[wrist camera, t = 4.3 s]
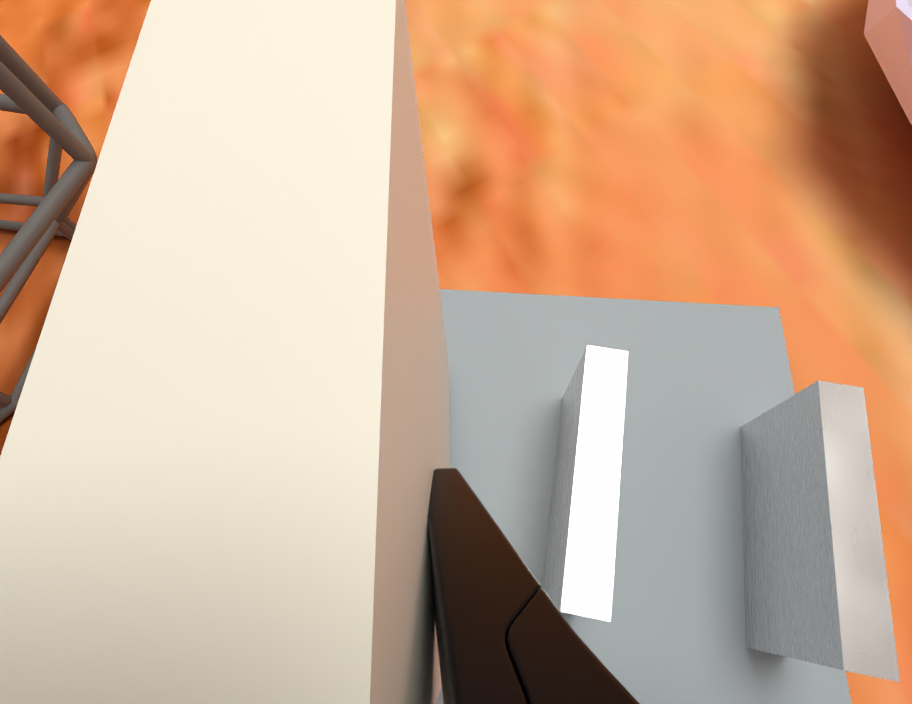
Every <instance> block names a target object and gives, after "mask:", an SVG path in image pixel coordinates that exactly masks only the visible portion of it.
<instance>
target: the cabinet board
mask: <svg viewBox="0 0 912 704" xmlns="http://www.w3.org/2000/svg"><path fill="white" fill-rule="evenodd" d="M440 296H441V304H442V312H443V320H444V329H445V337H446V345H447V354H448V362H449V409H450V464H451V468H456V469H458V470H459V472H460V473H461V474H462V476H463V477H464V479H465V480H466V481H467V483H468V484H469V486H470V487H471V488H472V490H473V491H474V493H475V494H476V495H477V497H478V498H479V500H480V501H481V503H482V504H483V505H484V507H485V508H486V510H487V511H488V512H489V514H490V515H491V517H492V518H493V519H494V521H495V522H496V524H497V525H498V526H499V528H500V529H501V531H502V532H503V533H504V535H505V536H506V538H507V539H508V540H509V542H510V543H511V545H512V546H513V547H514V549H515V550H516V552H517V553H518V554H519V556H520V557H521V559H522V560H523V561H524V563H525V564H526V566H527V567H528V568H529V570H530V571H531V573H532V574H533V575H534V577H535V578H536V580H537V581H538V582H539V584H540V585H541V582H542V573H543V564H544V555H545V547H546V538H547V529H548V520H549V512H550V503H551V494H552V485H553V477H554V468H555V459H556V450H557V442H558V433H559V424H560V415H561V407H562V398H563V395H564V393H565V391H566V389H567V387H568V385H569V383H570V381H571V378H572V376H573V374H574V372H575V370H576V368H577V366H578V363H579V361H580V359H581V357H582V355H583V353H584V351H585V348H586V346H587V345H590V346H596V347H603V348H609V349H616V350H622V351H628V364H627V380H626V395H625V410H624V426H623V441H622V457H621V472H620V488H619V503H618V518H617V534H616V549H615V565H614V580H613V596H612V611H611V622H608V621H603V620H598V619H594V618H589V617H584V616H579V615H574V614H570V613H565V612H560V613H561V614H562V615H563V617H564V618H565V619H566V620H567V622H568V623H569V624H570V626H571V627H572V628H573V630H574V631H575V632H576V633H577V635H578V636H579V637H580V638H581V639H582V641H583V642H584V643H585V644H586V645H587V646H588V647H589V648H590V650H591V651H592V652H593V653H594V654H595V655H596V656H597V658H598V659H599V660H600V661H601V662H602V663H603V664H604V665H605V667H606V668H607V669H608V670H609V671H610V672H611V673H612V674H613V675H614V676H615V677H616V678H617V679H618V681H619V682H620V683H621V684H622V685H623V686H624V687H625V688H626V689H627V690H628V691H629V692H630V694H631V695H632V696H633V697H634V698H635V699H636V700H637V701H638V702H639V703H640V704H852V703H851V698H850V692H849V687H848V682H847V676H846V671H844V670H840V669H835V668H831V667H827V666H823V665H818V664H814V663H810V662H806V661H801V660H797V659H793V658H789V657H784V656H780V655H776V654H772V653H767V652H763V651H759V650H755V649H750V648H746V633H745V594H744V554H743V515H742V475H741V435H740V427H741V426H743V425H744V424H746V423H748V422H749V421H751V420H753V419H754V418H756V417H758V416H760V415H761V414H763V413H765V412H766V411H768V410H770V409H771V408H773V407H775V406H776V405H778V404H780V403H781V402H783V401H785V400H787V399H788V398H790V397H792V396H793V395H795V393H794V388H793V382H792V377H791V371H790V366H789V360H788V355H787V350H786V344H785V339H784V333H783V328H782V322H781V317H780V311H779V308H778V307H759V306H741V305H722V304H704V303H685V302H667V301H649V300H630V299H612V298H593V297H575V296H556V295H538V294H519V293H501V292H482V291H464V290H446V289H440ZM436 704H443V695H442V687H441V690H440V693H439V696H438V699H437V702H436Z"/></svg>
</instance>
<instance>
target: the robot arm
mask: <svg viewBox="0 0 912 704" xmlns="http://www.w3.org/2000/svg"><path fill="white" fill-rule="evenodd" d="M428 530H429V544H430V558H431V572H432V586H433V600H434V613H435V626H436V636H437V646H438V655H439V665H440V675H441V685H442V695H443V704H640V703H639V702H638V701H637V700H636V699H635V698H634V697H633V696H632V695H631V694H630V692H629V691H628V690H627V689H626V688H625V687H624V686H623V685H622V684H621V683H620V682H619V681H618V679H617V678H616V677H615V676H614V675H613V674H612V673H611V672H610V671H609V670H608V669H607V668H606V667H605V665H604V664H603V663H602V662H601V661H600V660H599V659H598V658H597V656H596V655H595V654H594V653H593V652H592V651H591V650H590V648H589V647H588V646H587V645H586V644H585V643H584V642H583V641H582V639H581V638H580V637H579V636H578V635H577V633H576V632H575V631H574V630H573V628H572V627H571V626H570V624H569V623H568V622H567V620H566V619H565V618H564V617H563V615H562V614H561V613H560V611H559V610H558V609H557V607H556V606H555V605H554V603H553V602H552V600H551V599H550V598H549V596H548V595H547V593H546V592H545V591H544V590H543V589H542V587H541V585H540V584H539V582H538V581H537V580H536V578H535V577H534V575H533V574H532V573H531V571H530V570H529V568H528V567H527V566H526V564H525V563H524V561H523V560H522V559H521V557H520V556H519V554H518V553H517V552H516V550H515V549H514V547H513V546H512V545H511V543H510V542H509V540H508V539H507V538H506V536H505V535H504V533H503V532H502V531H501V529H500V528H499V526H498V525H497V524H496V522H495V521H494V519H493V518H492V517H491V515H490V514H489V512H488V511H487V510H486V508H485V507H484V505H483V504H482V503H481V501H480V500H479V498H478V497H477V495H476V494H475V493H474V491H473V490H472V488H471V487H470V486H469V484H468V483H467V481H466V480H465V479H464V477H463V476H462V474H461V473H460V472H459V470H458V469H456V468H438V469H435V470H434V471H433V479H432V486H431V493H430V500H429V507H428Z"/></svg>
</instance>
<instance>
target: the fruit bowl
mask: <svg viewBox="0 0 912 704" xmlns="http://www.w3.org/2000/svg"><path fill="white" fill-rule="evenodd" d="M864 36H865V38H866V40H867V41H868V43H869V45H870V47H871V49H872V51H873V53H874V55H875V57H876V59H877V61H878V62H879V64H880V66H881V68H882V70H883V72H884V74H885V76H886V78H887V80H888V82H889V84H890V85H891V87H892V89H893V91H894V93H895V95H896V97H897V99H898V101H899V103H900V105H901V106H902V108H903V110H904V112H905V114H906V116H907V118H908V120H909V122H910V124H911V126H912V0H868V7H867V14H866V21H865V28H864Z"/></svg>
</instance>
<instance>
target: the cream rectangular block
mask: <svg viewBox="0 0 912 704" xmlns="http://www.w3.org/2000/svg"><path fill="white" fill-rule="evenodd" d="M438 468H451V464H450V409H449V362H448V354H447V345H446V337H445V329H444V320H443V312H442V304H441V296H440V287H439V279H438V271H437V263H436V254H435V246H434V238H433V229H432V221H431V213H430V205H429V196H428V188H427V180H426V172H425V163H424V155H423V147H422V138H421V130H420V122H419V114H418V105H417V97H416V89H415V81H414V72H413V64H412V56H411V47H410V39H409V31H408V23H407V14H406V6H405V0H151V2H150V5H149V8H148V11H147V14H146V17H145V20H144V23H143V26H142V29H141V32H140V35H139V38H138V42H137V45H136V48H135V51H134V54H133V57H132V60H131V63H130V66H129V69H128V72H127V75H126V78H125V81H124V84H123V87H122V90H121V93H120V96H119V99H118V102H117V105H116V108H115V111H114V114H113V117H112V120H111V123H110V126H109V129H108V132H107V135H106V138H105V141H104V144H103V147H102V150H101V153H100V156H99V159H98V162H97V165H96V168H95V171H94V175H93V178H92V181H91V184H90V187H89V190H88V193H87V196H86V199H85V202H84V205H83V208H82V211H81V214H80V217H79V220H78V223H77V226H76V229H75V232H74V235H73V238H72V241H71V244H70V247H69V250H68V253H67V256H66V259H65V262H64V265H63V268H62V271H61V274H60V277H59V280H58V283H57V286H56V289H55V292H54V295H53V298H52V301H51V305H50V308H49V311H48V314H47V317H46V320H45V323H44V326H43V329H42V332H41V335H40V338H39V341H38V344H37V347H36V350H35V353H34V356H33V359H32V362H31V365H30V368H29V371H28V374H27V377H26V380H25V383H24V386H23V389H22V392H21V395H20V398H19V401H18V404H17V407H16V410H15V413H14V416H13V419H12V422H11V425H10V428H9V431H8V434H7V438H6V441H5V444H4V447H3V450H2V453H1V456H0V704H436V702H437V699H438V696H439V693H440V690H441V687H442V685H441V675H440V665H439V655H438V646H437V636H436V626H435V613H434V600H433V586H432V572H431V558H430V544H429V530H428V507H429V500H430V493H431V486H432V479H433V471H434V470H435V469H438Z"/></svg>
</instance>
